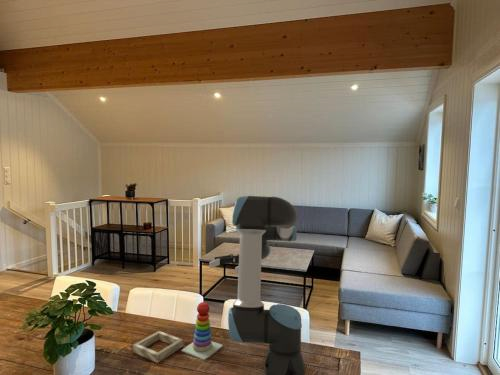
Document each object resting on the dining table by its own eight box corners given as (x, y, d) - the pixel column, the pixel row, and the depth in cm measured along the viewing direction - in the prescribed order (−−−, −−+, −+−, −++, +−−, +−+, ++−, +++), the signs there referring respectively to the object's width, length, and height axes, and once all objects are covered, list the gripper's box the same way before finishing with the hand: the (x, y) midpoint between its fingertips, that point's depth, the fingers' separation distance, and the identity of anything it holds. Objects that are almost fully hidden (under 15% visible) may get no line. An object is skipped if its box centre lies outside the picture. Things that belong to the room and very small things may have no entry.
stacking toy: (208, 353, 137) (208, 307, 136) (189, 351, 138) (189, 305, 137) (214, 343, 145) (214, 299, 143) (196, 341, 146) (196, 298, 145)
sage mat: (222, 346, 143) (222, 345, 143) (204, 360, 133) (204, 358, 133) (200, 338, 150) (200, 337, 150) (181, 351, 140) (181, 349, 139)
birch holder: (182, 346, 143) (182, 339, 143) (157, 362, 131) (157, 355, 131) (159, 337, 150) (158, 330, 150) (132, 352, 139) (132, 344, 138)
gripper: (272, 268, 158) (247, 282, 140) (227, 260, 171) (199, 271, 153) (272, 252, 157) (247, 263, 139) (227, 245, 170) (199, 254, 152)
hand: (222, 267), depth 146 cm, fingers open, 13 cm apart
